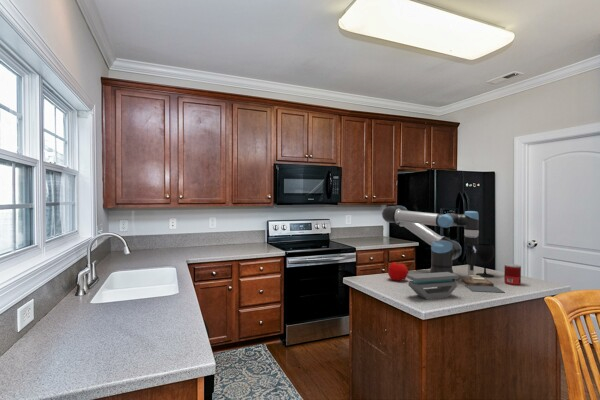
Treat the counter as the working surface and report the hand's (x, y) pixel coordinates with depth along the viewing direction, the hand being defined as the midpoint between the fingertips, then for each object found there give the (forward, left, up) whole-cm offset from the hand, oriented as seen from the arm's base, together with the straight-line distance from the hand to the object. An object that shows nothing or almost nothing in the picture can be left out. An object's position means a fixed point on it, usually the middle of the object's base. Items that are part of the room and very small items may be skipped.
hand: (470, 275), depth 196 cm
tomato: (-44, -8, -3) cm, 45 cm away
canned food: (+21, -5, -3) cm, 22 cm away
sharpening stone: (-31, -38, -3) cm, 49 cm away
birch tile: (0, -9, -1) cm, 9 cm away
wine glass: (+13, +13, -3) cm, 19 cm away
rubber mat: (0, -20, -3) cm, 20 cm away
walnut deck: (0, -9, -3) cm, 10 cm away
